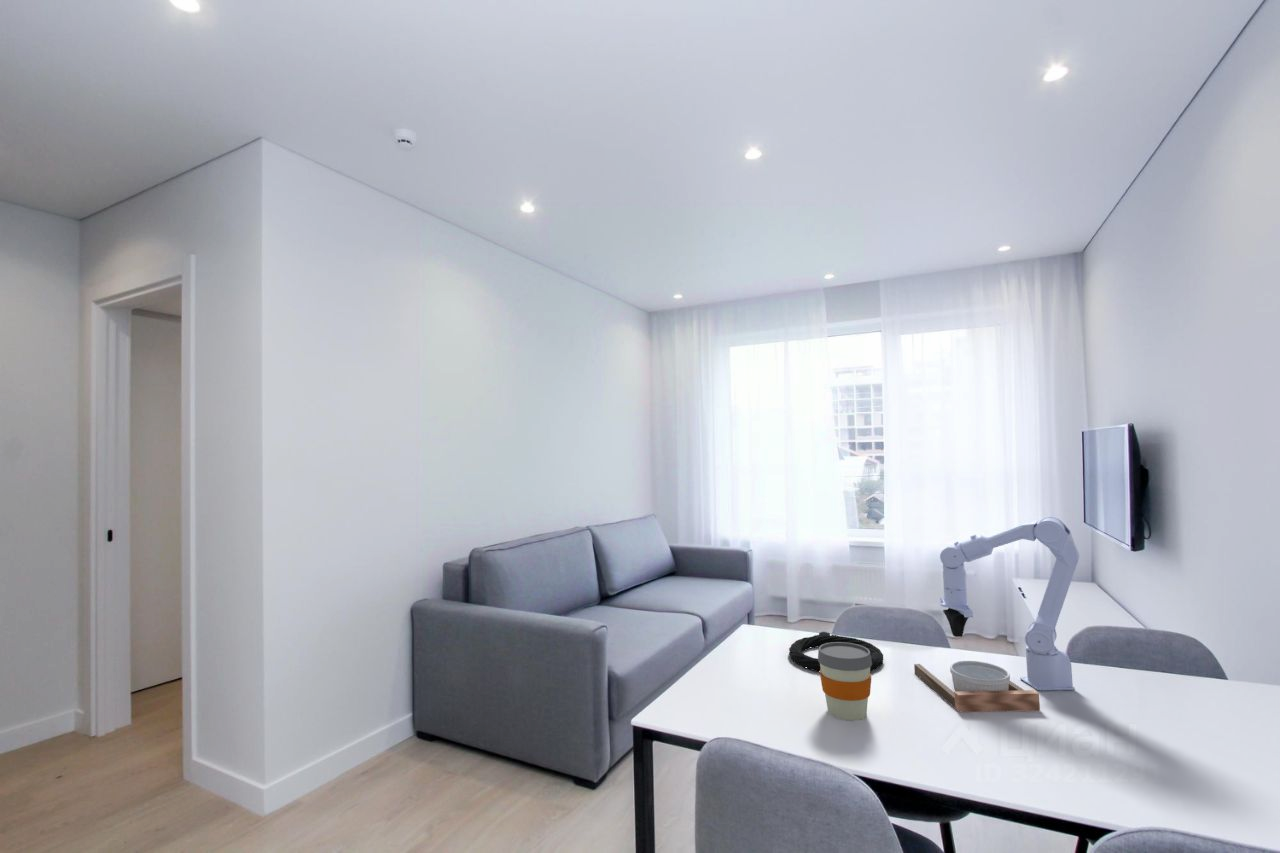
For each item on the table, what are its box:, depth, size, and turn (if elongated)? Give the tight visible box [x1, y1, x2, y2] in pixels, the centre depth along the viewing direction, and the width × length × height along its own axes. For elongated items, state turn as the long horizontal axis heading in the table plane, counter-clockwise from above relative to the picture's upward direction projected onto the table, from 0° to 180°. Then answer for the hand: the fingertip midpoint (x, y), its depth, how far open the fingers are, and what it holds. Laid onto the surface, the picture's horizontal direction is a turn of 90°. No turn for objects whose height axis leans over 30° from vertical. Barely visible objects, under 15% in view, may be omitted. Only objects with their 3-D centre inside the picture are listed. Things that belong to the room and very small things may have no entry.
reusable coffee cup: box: [817, 642, 872, 722], centre depth 144 cm, size 12×12×15 cm
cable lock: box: [788, 631, 884, 673], centre depth 181 cm, size 28×4×30 cm
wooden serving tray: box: [913, 663, 1041, 713], centre depth 153 cm, size 19×25×4 cm
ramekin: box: [949, 660, 1011, 692], centre depth 149 cm, size 13×13×7 cm
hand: (957, 636), depth 168 cm, fingers closed
